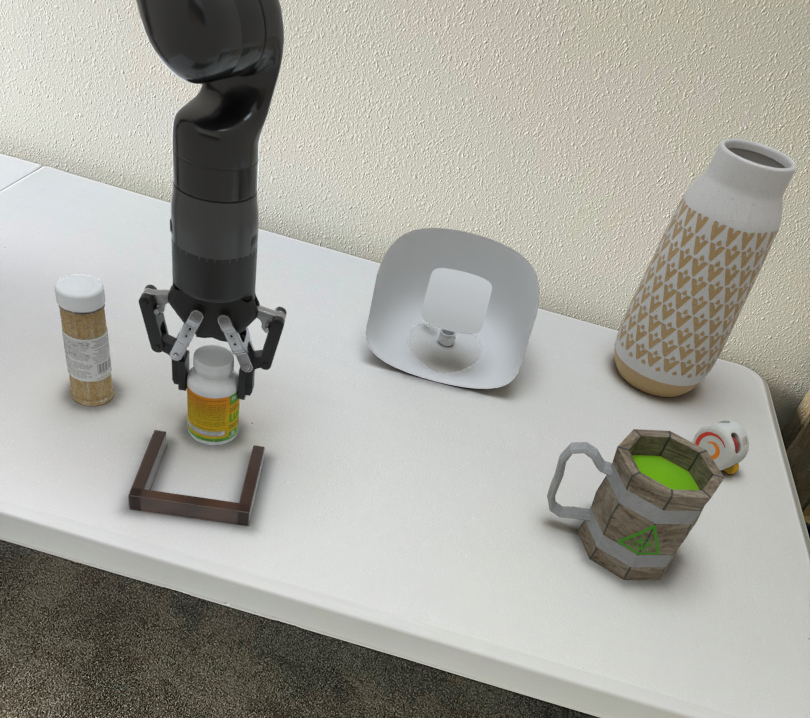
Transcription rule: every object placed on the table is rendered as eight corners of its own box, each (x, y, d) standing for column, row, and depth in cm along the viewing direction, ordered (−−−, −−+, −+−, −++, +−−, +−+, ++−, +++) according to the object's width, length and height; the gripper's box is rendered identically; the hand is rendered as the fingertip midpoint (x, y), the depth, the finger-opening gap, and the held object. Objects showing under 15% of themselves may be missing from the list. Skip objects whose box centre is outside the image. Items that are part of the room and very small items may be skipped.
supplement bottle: (236, 449, 84) (239, 374, 77) (184, 444, 83) (183, 368, 76) (239, 418, 88) (242, 343, 81) (190, 413, 87) (189, 337, 80)
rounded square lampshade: (520, 329, 114) (545, 252, 105) (510, 402, 100) (537, 320, 92) (387, 294, 114) (401, 214, 105) (358, 363, 100) (372, 277, 92)
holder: (129, 510, 75) (128, 495, 74) (155, 444, 82) (154, 429, 81) (248, 527, 76) (249, 512, 75) (263, 460, 84) (264, 446, 82)
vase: (587, 350, 113) (678, 125, 91) (666, 349, 117) (769, 134, 96) (634, 409, 104) (746, 175, 83) (716, 404, 109) (842, 182, 87)
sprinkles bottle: (95, 378, 88) (82, 267, 79) (123, 397, 87) (114, 286, 77) (61, 394, 85) (43, 280, 76) (89, 413, 84) (75, 300, 74)
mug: (672, 527, 88) (721, 445, 80) (674, 596, 81) (728, 513, 72) (538, 488, 89) (573, 402, 80) (527, 552, 81) (565, 465, 73)
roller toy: (703, 443, 101) (724, 407, 97) (741, 474, 98) (764, 438, 94) (681, 452, 99) (702, 415, 95) (719, 483, 96) (742, 446, 92)
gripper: (300, 232, 73) (286, 381, 85) (143, 202, 71) (151, 359, 83) (290, 270, 68) (277, 423, 80) (121, 239, 66) (133, 401, 78)
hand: (213, 390), depth 82 cm, fingers closed on supplement bottle, 5 cm apart
